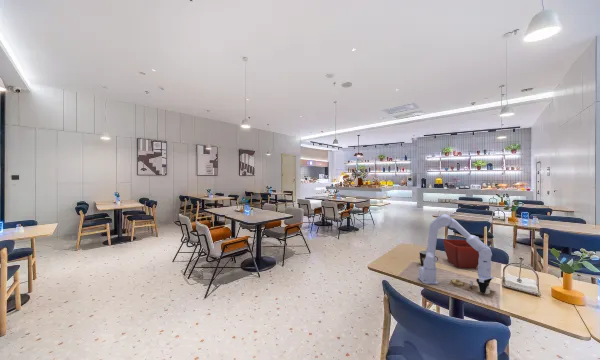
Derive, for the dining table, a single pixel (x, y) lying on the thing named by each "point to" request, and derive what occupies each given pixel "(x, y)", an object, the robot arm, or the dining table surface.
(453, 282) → the walnut gear board
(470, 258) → the plant pot
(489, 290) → the cream gear ring
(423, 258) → the coffee mug
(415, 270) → the dining table surface
